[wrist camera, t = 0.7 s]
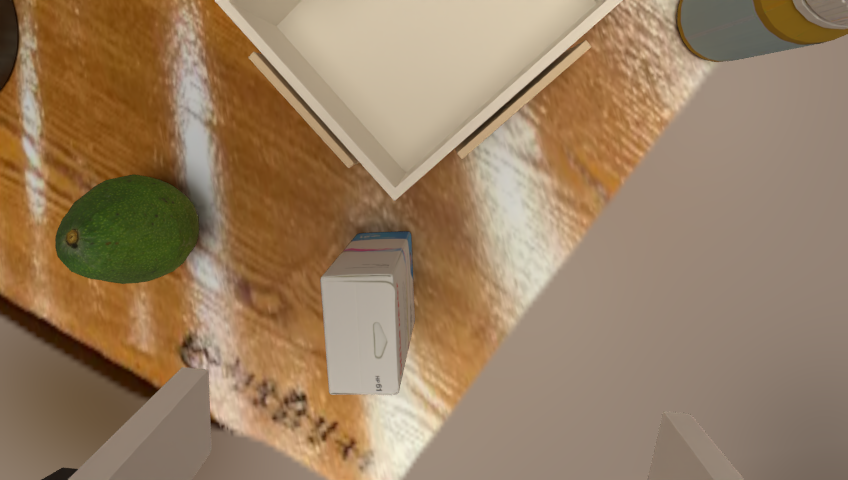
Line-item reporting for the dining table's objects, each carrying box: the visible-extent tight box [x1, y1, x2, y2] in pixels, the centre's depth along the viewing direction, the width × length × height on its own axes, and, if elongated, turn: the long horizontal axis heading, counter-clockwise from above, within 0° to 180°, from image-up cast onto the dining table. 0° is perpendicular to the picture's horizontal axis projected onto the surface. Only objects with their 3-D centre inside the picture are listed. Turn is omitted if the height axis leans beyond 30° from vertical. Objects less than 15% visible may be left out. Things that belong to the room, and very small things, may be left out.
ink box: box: [321, 232, 415, 395], centre depth 37 cm, size 8×5×12 cm, turn 2°
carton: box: [215, 0, 622, 201], centre depth 33 cm, size 17×21×9 cm
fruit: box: [56, 175, 199, 284], centre depth 36 cm, size 8×8×12 cm
